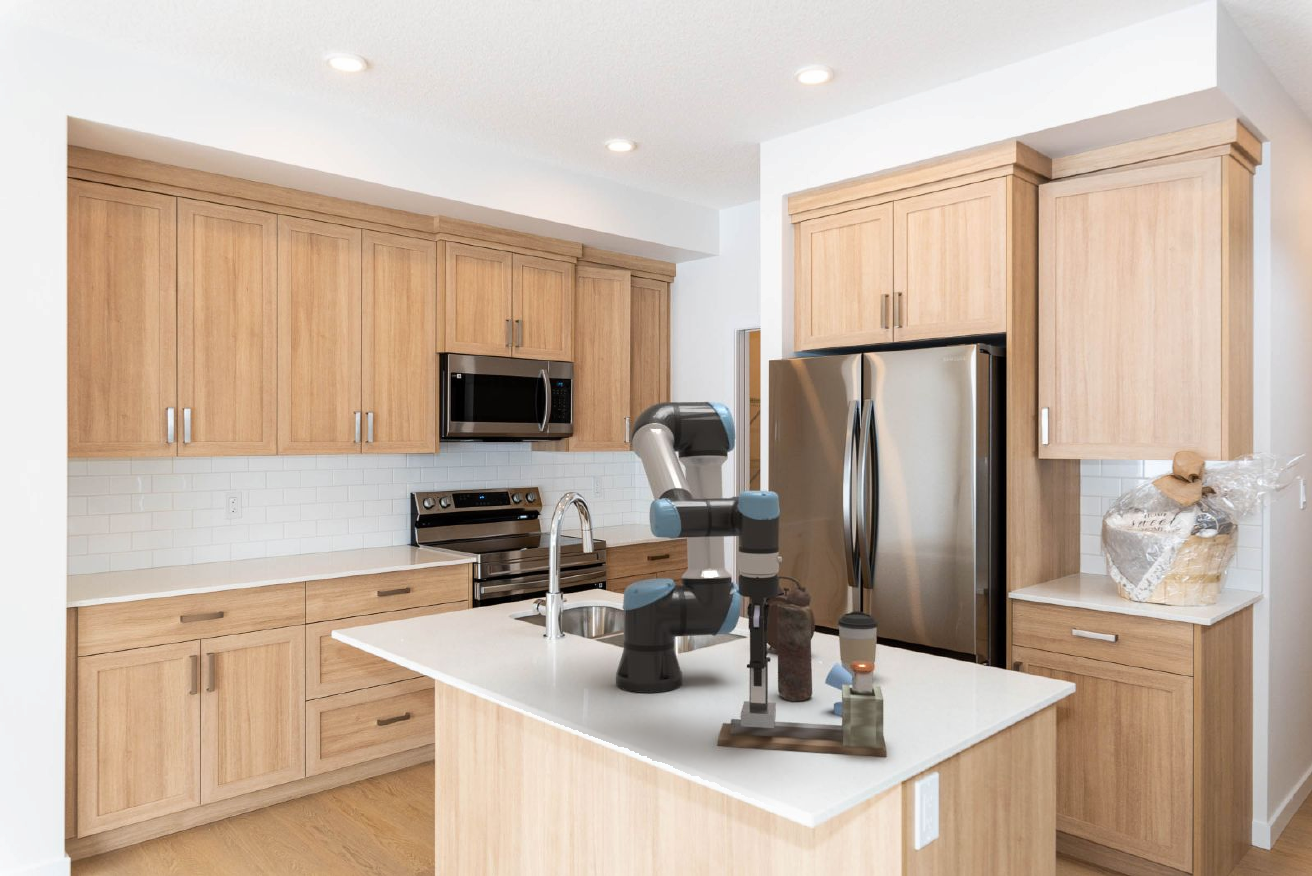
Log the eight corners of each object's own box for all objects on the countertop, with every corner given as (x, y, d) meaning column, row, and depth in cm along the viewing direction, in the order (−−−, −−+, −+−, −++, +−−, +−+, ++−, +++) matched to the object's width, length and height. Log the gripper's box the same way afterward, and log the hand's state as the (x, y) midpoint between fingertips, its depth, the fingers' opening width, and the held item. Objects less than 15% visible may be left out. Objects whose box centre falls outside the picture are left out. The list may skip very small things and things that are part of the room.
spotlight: (822, 713, 179) (855, 718, 176) (822, 664, 179) (855, 669, 175) (830, 706, 183) (863, 712, 180) (830, 659, 183) (863, 663, 180)
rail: (717, 745, 161) (717, 691, 160) (723, 729, 169) (723, 677, 169) (886, 756, 155) (886, 700, 155) (882, 739, 164) (883, 685, 164)
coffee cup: (878, 685, 199) (878, 619, 199) (837, 682, 201) (837, 617, 201) (876, 674, 208) (876, 611, 208) (837, 672, 210) (837, 609, 209)
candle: (770, 694, 192) (771, 602, 192) (799, 690, 195) (799, 600, 195) (789, 703, 185) (789, 609, 185) (818, 699, 188) (819, 606, 188)
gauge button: (850, 709, 158) (850, 666, 158) (849, 702, 163) (849, 660, 163) (875, 711, 158) (875, 667, 157) (873, 703, 162) (873, 661, 162)
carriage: (740, 726, 161) (740, 663, 161) (744, 714, 168) (744, 654, 168) (773, 728, 160) (773, 665, 160) (775, 716, 167) (775, 655, 166)
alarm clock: (818, 656, 224) (818, 578, 224) (801, 661, 219) (801, 581, 219) (773, 646, 235) (773, 571, 235) (756, 650, 230) (756, 574, 230)
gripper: (776, 581, 155) (776, 714, 155) (781, 568, 170) (781, 688, 170) (734, 580, 156) (734, 711, 157) (742, 567, 172) (742, 686, 172)
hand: (758, 699), depth 164 cm, fingers closed on carriage, 2 cm apart
